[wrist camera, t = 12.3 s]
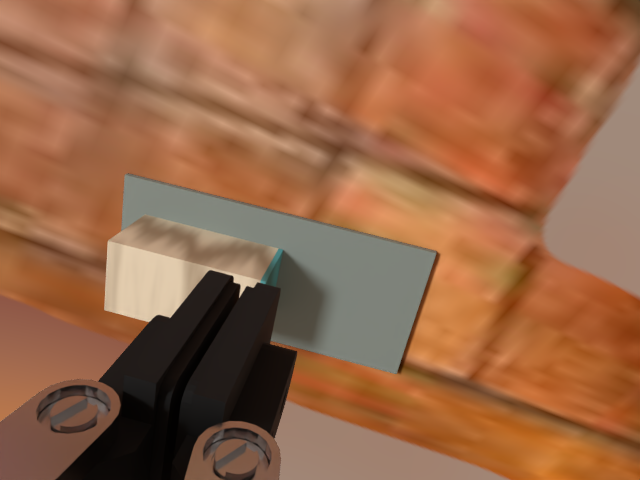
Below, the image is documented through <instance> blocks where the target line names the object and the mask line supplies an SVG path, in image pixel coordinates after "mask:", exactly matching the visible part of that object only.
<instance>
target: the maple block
mask: <svg viewBox="0 0 640 480" xmlns="http://www.w3.org/2000/svg"><path fill="white" fill-rule="evenodd" d="M282 254H283V250H282V249H279V248H275V247H271V246H267V245H263V244H259V243H255V242H251V241H247V240H243V239H239V238H236V237H232V236H228V235H224V234H220V233H216V232H212V231H208V230H204V229H200V228H196V227H193V226H189V225H185V224H181V223H177V222H173V221H169V220H165V219H161V218H157V217H153V216H149V215H146V214H145V215H144V216H142V217H141V218H139V219H138V220H137V221H135V222H134V223H132V224H131V225H130V226H128V227H127V228H125V229H124V230H122V231H121V232H120V233H118V234H117V235H115V236H114V237H113V238H111V239H110V240H108V250H107V269H106V288H105V308H104V310H106V311H110V312H114V313H117V314H121V315H125V316H128V317H132V318H136V319H140V320H143V321H147V322H150V321H151V320H152V319H153V318H154V317H155V316H156V315H162V316H166V317H170V318H171V316H172V315H173V314H174V313H175V311H176V310H177V309H178V308H179V306H180V305H181V304H182V303H183V301H184V300H185V299H186V298H187V297H188V295H189V294H190V293H191V292H192V290H193V289H194V288H195V287H196V285H197V284H198V283H199V282H200V280H201V279H202V278H203V277H204V276H205V274H206V273H207V272H208V271H209V270H213V271H216V272H220V273H224V274H228V275H232V276H233V277H234V283H238V284H240V285H241V289H240V295H239V298H240V296H241V294H242V293H243V291H244V289H245V288H246V286H249V287H253V288H254V287H255V285H256V283H257V282H259V283H263V284H266V285H270V286H274V287H276V283H277V278H278V274H279V269H280V264H281V259H282Z"/></svg>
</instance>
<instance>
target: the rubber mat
mask: <svg viewBox="0 0 640 480" xmlns="http://www.w3.org/2000/svg"><path fill="white" fill-rule="evenodd" d="M145 214H146V215H149V216H153V217H157V218H161V219H165V220H169V221H173V222H177V223H181V224H185V225H189V226H193V227H196V228H200V229H204V230H208V231H212V232H216V233H220V234H224V235H228V236H232V237H236V238H239V239H243V240H247V241H251V242H255V243H259V244H263V245H267V246H271V247H275V248H279V249H282V250H283V254H282V259H281V264H280V269H279V274H278V278H277V283H276V287H278V288H281V292H280V298H279V303H278V307H277V312H276V317H275V322H274V327H273V332H272V336H271V341H274V342H277V343H281V344H285V345H289V346H292V347H296V348H300V349H304V350H307V351H311V352H315V353H319V354H323V355H326V356H330V357H334V358H338V359H341V360H345V361H349V362H353V363H356V364H360V365H364V366H368V367H371V368H375V369H379V370H383V371H387V372H390V373H394V374H397V371H398V368H399V365H400V362H401V359H402V356H403V353H404V350H405V347H406V344H407V341H408V338H409V335H410V332H411V329H412V326H413V323H414V320H415V317H416V314H417V311H418V308H419V305H420V302H421V299H422V296H423V293H424V290H425V287H426V284H427V281H428V278H429V275H430V272H431V269H432V266H433V263H434V260H435V257H436V254H437V253H436V251H434V250H430V249H426V248H422V247H418V246H414V245H410V244H406V243H402V242H398V241H394V240H390V239H386V238H383V237H379V236H375V235H371V234H367V233H363V232H359V231H355V230H351V229H347V228H343V227H339V226H335V225H331V224H327V223H323V222H319V221H315V220H311V219H307V218H303V217H299V216H295V215H291V214H287V213H283V212H279V211H275V210H271V209H267V208H263V207H259V206H256V205H252V204H248V203H244V202H240V201H236V200H232V199H228V198H224V197H220V196H216V195H212V194H208V193H204V192H200V191H196V190H192V189H188V188H184V187H180V186H176V185H172V184H168V183H164V182H160V181H156V180H152V179H148V178H144V177H140V176H136V175H132V174H129V173H128V174H126V175H125V181H124V197H123V213H122V229H121V231H122V230H124V229H125V228H127V227H128V226H130V225H131V224H132V223H134V222H135V221H137V220H138V219H139V218H141V217H142V216H144V215H145Z"/></svg>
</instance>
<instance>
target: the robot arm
mask: <svg viewBox="0 0 640 480" xmlns="http://www.w3.org/2000/svg"><path fill="white" fill-rule="evenodd" d="M240 289H241V285H240V284H238V283H234V277H233V276H232V275H228V274H224V273H220V272H216V271H213V270H209V271H208V272H207V273H206V274H205V276H204V277H203V278H202V279H201V280H200V282H199V283H198V284H197V285H196V287H195V288H194V289H193V290H192V292H191V293H190V294H189V295H188V297H187V298H186V299H185V300H184V301H183V303H182V304H181V305H180V306H179V308H178V309H177V310H176V311H175V313H174V314H173V315H172V316H171V318H170V317H166V316H162V315H156V316H155V317H154V318H153V319H152V320H151V321H150V322H149V323H148V324H147V326H146V327H145V328H144V329H143V330H142V331H141V332H140V334H139V335H138V336H137V337H136V338H135V339H134V341H133V342H132V343H131V344H130V345H129V346H128V348H127V349H126V350H125V351H124V352H123V353H122V354H121V355H120V357H119V358H118V359H117V360H116V361H115V362H114V364H113V365H112V366H111V367H110V368H109V369H108V370H107V372H106V373H105V374H104V375H103V376H102V377H101V378H100V380H99V381H98V382H97V381H94V380H83V379H76V380H69V381H63V382H60V383H57V384H54V385H51V386H49V387H47V388H46V389H44V390H42V391H41V392H39V393H38V394H36V395H35V396H34V397H32V398H31V399H30V400H28V401H27V402H26V403H24V404H23V405H22V406H21V407H19V408H18V409H17V410H15V411H14V412H13V413H11V414H10V415H9V416H7V417H6V418H5V419H4V420H2V421H1V422H0V480H279V476H280V464H281V457H280V449H279V447H278V445H277V443H276V441H275V439H274V438H275V435H276V432H277V429H278V425H279V422H280V419H281V415H282V412H283V409H284V405H285V401H286V398H287V394H288V390H289V386H290V382H291V378H292V374H293V369H294V365H295V361H296V356H297V351H294V350H290V349H286V348H282V347H279V346H275V345H271V344H270V341H271V336H272V332H273V327H274V322H275V317H276V312H277V307H278V303H279V298H280V292H281V288H278V287H274V286H270V285H266V284H263V283H259V282H257V283H256V285H255V287H254V288H253V287H249V286H246V288H245V289H244V291H243V293H242V294H241V296H240V298H239V295H240Z"/></svg>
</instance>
